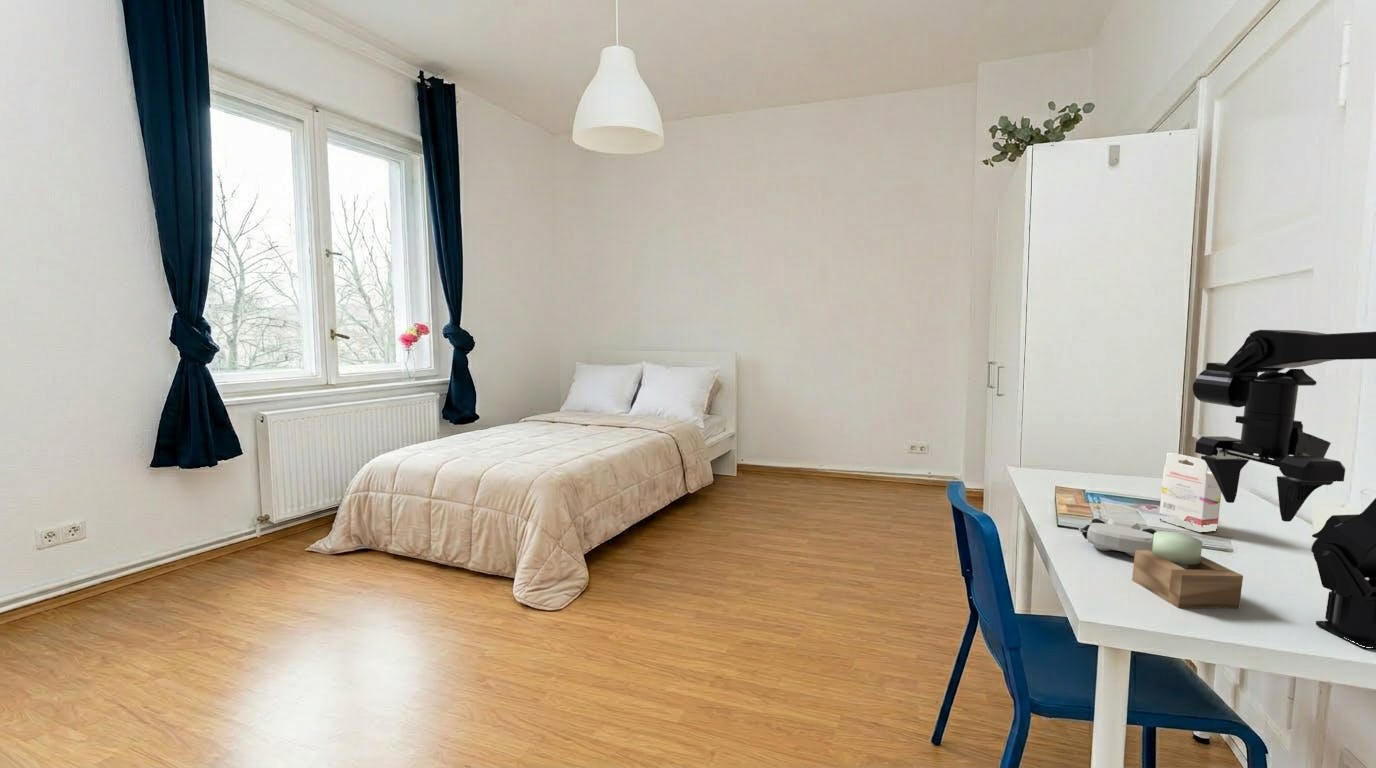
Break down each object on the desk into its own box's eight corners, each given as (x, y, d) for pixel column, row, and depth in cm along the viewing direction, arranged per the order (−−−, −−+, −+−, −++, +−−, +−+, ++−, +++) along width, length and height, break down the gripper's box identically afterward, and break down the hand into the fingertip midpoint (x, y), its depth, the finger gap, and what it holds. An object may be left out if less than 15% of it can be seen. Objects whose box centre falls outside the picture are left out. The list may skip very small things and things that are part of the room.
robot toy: (1085, 533, 126) (1076, 550, 114) (1087, 511, 126) (1078, 525, 114) (1162, 548, 118) (1160, 568, 107) (1164, 524, 118) (1163, 541, 106)
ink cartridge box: (1218, 532, 125) (1227, 459, 123) (1200, 534, 124) (1209, 460, 122) (1174, 518, 133) (1181, 450, 132) (1157, 520, 132) (1164, 451, 130)
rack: (1239, 608, 92) (1243, 575, 92) (1178, 607, 92) (1182, 575, 92) (1187, 580, 102) (1190, 550, 101) (1132, 580, 102) (1135, 550, 101)
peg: (1169, 583, 96) (1173, 545, 95) (1140, 567, 102) (1144, 531, 101) (1208, 583, 96) (1212, 545, 95) (1177, 567, 102) (1181, 531, 101)
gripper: (1389, 423, 87) (1373, 532, 89) (1260, 403, 106) (1249, 494, 108) (1313, 422, 87) (1299, 532, 89) (1197, 403, 105) (1187, 494, 107)
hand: (1256, 511), depth 98 cm, fingers open, 9 cm apart
